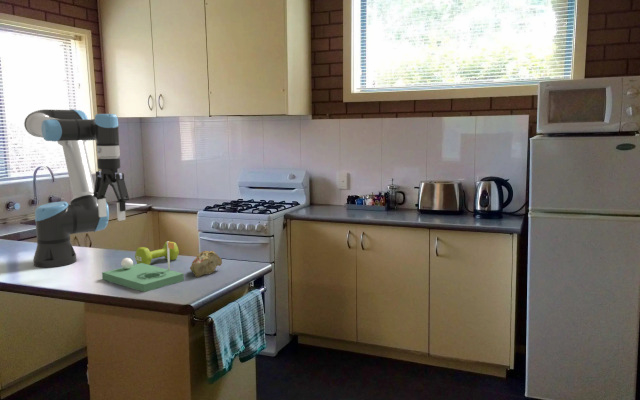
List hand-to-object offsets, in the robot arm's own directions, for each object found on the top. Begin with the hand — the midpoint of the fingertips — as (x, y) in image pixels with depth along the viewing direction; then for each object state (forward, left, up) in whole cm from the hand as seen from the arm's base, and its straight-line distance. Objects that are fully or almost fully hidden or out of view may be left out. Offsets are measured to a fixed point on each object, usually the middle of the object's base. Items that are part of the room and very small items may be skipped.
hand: (112, 218), depth 197 cm
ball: (+8, 0, -15) cm, 17 cm away
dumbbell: (+1, +18, -20) cm, 27 cm away
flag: (+23, +7, -20) cm, 32 cm away
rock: (+26, +19, -20) cm, 38 cm away
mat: (+17, 0, -20) cm, 26 cm away
